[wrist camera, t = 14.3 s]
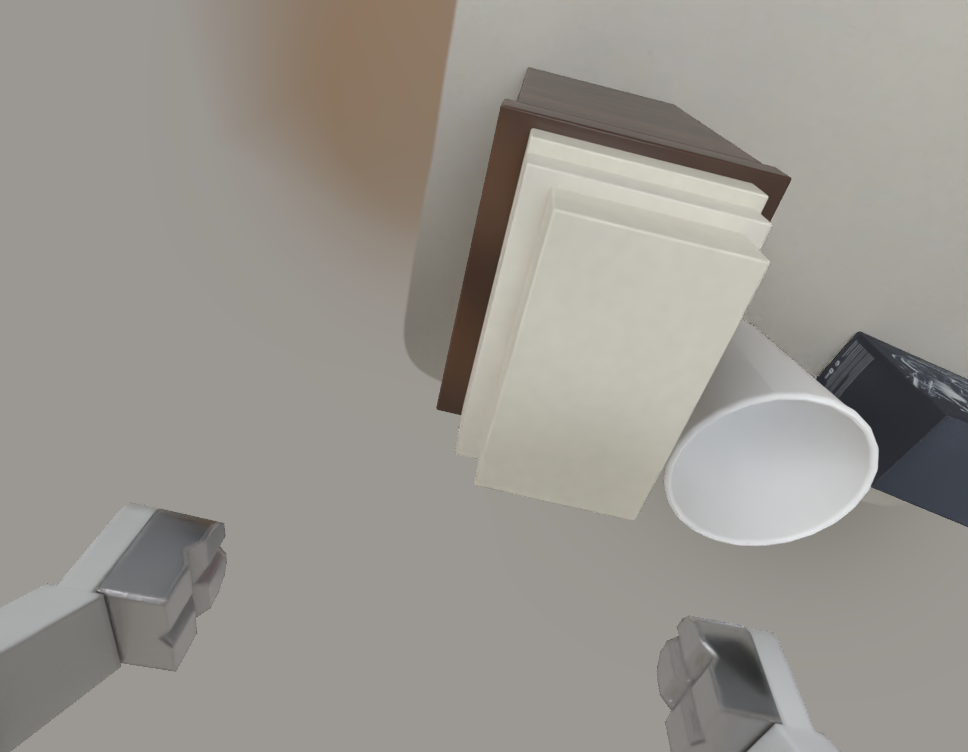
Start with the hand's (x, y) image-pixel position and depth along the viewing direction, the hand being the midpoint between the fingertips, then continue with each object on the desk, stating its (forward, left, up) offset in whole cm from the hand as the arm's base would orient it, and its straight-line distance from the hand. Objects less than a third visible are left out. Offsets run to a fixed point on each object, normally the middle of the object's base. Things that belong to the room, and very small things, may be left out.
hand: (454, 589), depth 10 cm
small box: (+29, +22, -36) cm, 51 cm away
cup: (+19, +8, -36) cm, 42 cm away
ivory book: (+3, +2, -12) cm, 13 cm away
